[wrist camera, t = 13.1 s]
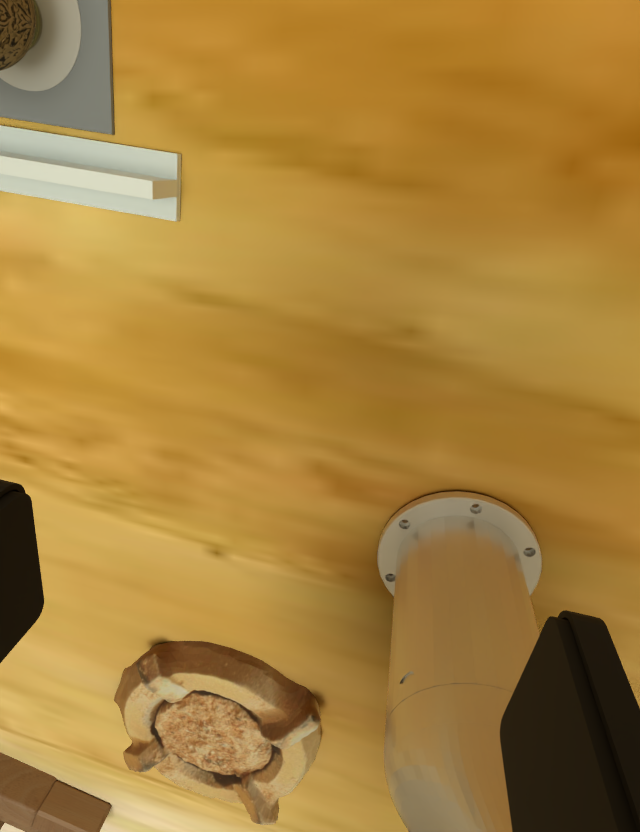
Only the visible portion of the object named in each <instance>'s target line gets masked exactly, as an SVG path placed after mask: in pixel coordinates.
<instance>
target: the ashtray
mask: <svg viewBox="0 0 640 832" xmlns="http://www.w3.org/2000/svg"><path fill="white" fill-rule="evenodd" d="M114 701H115V702H116V703H117V704H118V706H119V708H120V711H121V713H122V717H123V721H124V725H125V727H126V731H127V734H128V735H129V737H130V738H131V740H132V744H131V746H130V747H128V748H127V749H126V750H125V751H124V752H123V754H124V759H125V762H126V764H127V766H128V768H129V769H130V770H134V771H135V772H136V771H138V772H147V771H149V770H150V769H151V768H152V767H153V766H154V767H155V768H156V769H157V770H158V771H159V772H160V773H161V774H162V775H164V776H165V777H167V778H168V779H169V780H171V781H173V782H174V783H175V784H177V785H178V786H180V787H183V788H185V789H188V790H190V791H194V792H196V793H198V794H201V795H203V796H207V797H209V798H218V799H221V800H224V801H228V802H235V803H244V805H245V807H246V809H247V811H248V813H249V814H250V817H251V820H252V821H253V822H254V823H257V824H261V825H268V824H274V823H276V821H277V819H278V813H279V805H278V799H279V797H282V796H285V795H287V794H289V793H290V792H292V791H293V789H294V788H295V787H296V786H297V785H298V783H299V782H300V781H301V780H302V779H303V777H304V775H305V774H306V772H307V771H308V770H309V768H310V766H311V764H312V763H313V762H314V760H315V757H316V753H317V750H318V748H319V744H320V740H321V725H320V721H321V718H320V709H319V705H318V702H317V700H316V698H315V697H314V696H313V694H312V693H311V692H310V691H309V690H308V689H307V688H305V687H303V686H301V685H299V684H297V683H295V682H293V681H291V680H289V679H288V678H286V677H284V676H283V675H282V674H281V673H279V672H278V671H277V670H275V669H274V668H272V667H271V666H269V665H268V664H266V663H265V662H263V661H262V660H259V659H257V658H255V657H253V656H250V655H248V654H245V653H243V652H240V651H237V650H235V649H232V648H229V647H225V646H221V645H217V644H213V643H209V642H202V641H171V642H167V643H163V644H158V645H155V646H153V647H152V648H151V649H150V650H149V651H148V652H146V653H145V654H144V655H142V656H141V657H140V658H139V659H138V660H137V661H136V662H134V664H133V665H132V666H130V667H128V668H126V669H125V670H124V672H123V674H122V678H121V681H120V684H119V687H118V689H117V692H116V694H115V698H114Z"/></svg>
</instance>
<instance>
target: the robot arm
mask: <svg viewBox="0 0 640 832" xmlns="http://www.w3.org/2000/svg"><path fill="white" fill-rule="evenodd" d="M377 565H378V569H379V573H380V576H381V578H382V580H383V582H384V584H385V587H386V588H387V589H388V590H389V592H390V593H391V594H392V596H393V597H394V605H393V620H392V635H391V650H390V665H389V680H388V695H387V710H386V725H385V740H384V768H385V775H386V781H387V785H388V788H389V792H390V795H391V798H392V801H393V803H394V805H395V807H396V809H397V811H398V813H399V816H400V817H401V819H402V821H403V823H404V824H405V826H406V828H407V829H408V831H409V832H640V709H639V706H638V704H637V701H636V699H635V696H634V694H633V691H632V689H631V686H630V684H629V681H628V679H627V676H626V674H625V671H624V669H623V666H622V664H621V661H620V659H619V656H618V654H617V651H616V649H615V646H614V644H613V641H612V639H611V636H610V634H609V631H608V629H607V626H606V625H605V623H604V621H603V620H601V619H600V618H596V617H592V616H588V615H583V614H579V613H575V612H570V611H562V612H561V613H560V614H559V616H558V618H557V617H551V616H550V617H549V618H548V619H547V621H546V623H545V625H544V627H543V629H542V631H541V634H540V635H539V631H538V627H537V623H536V619H535V615H534V611H533V607H532V603H531V599H530V596H531V594H532V593H533V591H534V589H535V588H536V586H537V584H538V582H539V579H540V575H541V572H542V556H541V552H540V547H539V544H538V541H537V539H536V536H535V533H534V532H533V530H532V529H531V527H530V526H529V524H528V523H527V521H526V520H525V519H524V518H523V517H522V516H521V515H520V514H519V513H518V512H516V511H515V510H513V509H512V508H510V507H509V506H507V505H506V504H505V503H502V502H500V501H498V500H496V499H493V498H491V497H488V496H484V495H480V494H476V493H470V492H460V491H454V492H441V493H436V494H432V495H428V496H424V497H422V498H420V499H417V500H415V501H412V502H411V503H409V504H408V505H406V506H404V507H403V508H401V509H400V510H399V511H398V512H397V513H396V514H395V515H394V516H393V517H392V518H391V519H390V520H389V522H388V523H387V525H386V526H385V528H384V529H383V532H382V534H381V537H380V540H379V546H378V552H377ZM43 605H44V596H43V588H42V580H41V572H40V564H39V556H38V548H37V541H36V533H35V525H34V517H33V509H32V501H31V498H30V496H29V495H27V494H26V493H25V490H24V488H23V487H22V485H20V484H17V483H13V482H8V481H4V480H0V663H1V662H2V660H3V659H4V658H5V657H6V656H7V655H8V653H9V652H10V651H11V650H12V649H13V648H14V646H15V645H16V644H17V643H18V642H19V641H20V639H21V638H22V637H23V636H24V635H25V634H26V632H27V631H28V630H29V629H30V628H31V627H32V625H33V624H34V623H35V622H36V620H37V619H38V618H39V616H40V614H41V612H42V609H43Z"/></svg>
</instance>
